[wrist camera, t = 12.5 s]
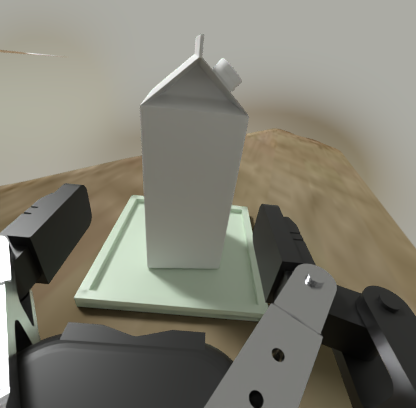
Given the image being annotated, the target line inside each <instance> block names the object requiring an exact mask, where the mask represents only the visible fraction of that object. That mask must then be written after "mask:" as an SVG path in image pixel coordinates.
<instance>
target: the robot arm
mask: <svg viewBox="0 0 416 408" xmlns="http://www.w3.org/2000/svg"><path fill="white" fill-rule="evenodd" d="M91 218H92V214H91V208H90V203H89V198H88V193H87V189H86V187H85V186H84V185H77V184H67V183H66V184H64V185H62V186H61V187H60V188H59V189H58V190H57V191H56V192H55V193H51V194H49V195H47V196H45V197H43V198H40V199H39V200H38V201H37V202H35V203H34V204H33V205H32V206H31V208H28V209H27V210H26V211H25V212H24V214H21V215H20V216H19V217H18V218H17V219H16V220H14V221H13V222H12V223H11V224H10V225H9V226H7V227H6V228H5V229H4V230H3V231H2V232H0V408H298V407H299V404H300V401H301V399H302V396H303V393H304V390H305V387H306V385H307V382H308V379H309V376H310V373H311V371H312V368H313V365H314V362H315V359H316V356H317V354H318V351H319V348H320V345H321V344H323V345H326V346H328V347H331V348H332V350H333V352H334V355H335V358H336V361H337V364H338V367H339V370H340V373H341V376H342V378H343V381H344V384H345V387H346V390H347V393H348V396H349V399H350V401H351V404H352V407H353V408H416V316H415V315H414V313H413V312H412V310H411V309H410V308H409V306H408V305H407V304H406V303H405V302H404V301H403V300H402V299H401V298H400V297H399V296H397V295H396V294H394V293H393V292H391V291H389V290H387V289H385V288H382V287H379V286H368V287H366V288H365V289H364V291H363V292H362V293H358V292H355V291H352V290H349V289H346V288H344V287H341V286H338V285H336V282H335V280H334V279H333V277H332V276H331V275H330V274H329V273H328V272H327V271H325V270H324V269H322V268H320V267H318V266H316V265H315V263H314V261H313V259H312V257H311V254H310V252H309V250H308V248H307V246H306V244H305V242H304V241H303V238H302V236H301V235H300V232H299V229H298V227H297V225H296V224H295V223H294V222H293V221H292V220H291V219H290V218H289V217H283V215H282V213H281V210H280V208H279V206H277V205H267V204H261V206H260V208H259V212H258V215H257V219H256V223H255V226H254V230H253V246H254V250H255V255H256V260H257V265H258V269H259V274H260V279H261V284H262V289H263V293H264V298H265V303H271V304H270V306H269V307H268V309H267V310H266V312H265V313H264V315H263V316H262V318H261V320H260V321H259V323H258V324H257V326H256V327H255V329H254V331H253V332H252V334H251V335H250V337H249V338H248V340H247V341H246V343H245V345H244V346H243V348H242V349H241V351H240V352H239V354H238V355H237V357H236V359H235V360H234V362H233V361H232V360H231V359H230V358H229V357H228V356H227V355H226V354H224V353H223V352H222V351H220V350H219V349H217V348H215V347H213V346H211V345H209V344H206V343H205V333H204V332H191V331H177V330H170V331H165V332H159V333H154V334H149V335H143V336H131V335H129V334H126V333H123V332H121V331H118V330H115V329H113V328H110V327H107V326H105V325H98V324H85V323H72V322H68V324H67V326H66V328H65V330H64V332H63V334H59V335H55V336H52V337H49V338H46V339H44V340H40V336H39V332H38V326H37V319H36V313H35V306H34V299H33V293H32V291H31V288H32V286H33V285H34V284H35V283H42V284H49V283H50V281H51V280H52V279H53V277H54V276H55V274H56V273H57V271H58V270H59V269H60V267H61V266H62V264H63V263H64V261H65V260H66V259H67V257H68V256H69V254H70V253H71V252H72V250H73V249H74V247H75V246H76V244H77V243H78V242H79V240H80V239H81V237H82V236H83V234H84V233H85V232H86V230H87V229H88V227H89V226H90V223H91ZM381 358H382V359H381ZM382 360H383V361H382ZM383 362H384V363H383ZM384 364H385V365H384ZM385 366H386V367H385ZM386 368H387V369H386ZM387 370H388V371H387ZM388 372H389V373H388ZM389 374H390V375H389ZM390 376H391V377H390ZM391 378H392V379H391Z"/></svg>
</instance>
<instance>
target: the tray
mask: <svg viewBox="0 0 416 408" xmlns="http://www.w3.org/2000/svg"><path fill="white" fill-rule="evenodd" d="M74 299H75V302H76V305H77V306H78V307H90V308H102V309H114V310H126V311H138V312H150V313H162V314H174V315H186V316H198V317H210V318H221V319H233V320H245V321H257V322H259V321H260V320H261V318H262V316H263V315H264V313H265V312H266V310H267V309H268V304H267V303H265V298H264V293H263V289H262V284H261V279H260V274H259V269H258V265H257V260H256V255H255V250H254V246H253V233H252V228H251V223H250V218H249V214H248V209H247V207H243V206H233V205H232V206H231V211H230V216H229V221H228V226H227V231H226V236H225V241H224V246H223V251H222V256H221V261H220V266H219V269H192V268H148V267H147V252H146V230H145V208H144V196H137V195H132V196H131V198H130V199H129V201H128V203H127V205H126V207H125V208H124V210H123V212H122V214H121V215H120V217H119V219H118V221H117V222H116V224H115V226H114V228H113V230H112V231H111V233H110V235H109V237H108V238H107V240H106V242H105V244H104V245H103V247H102V249H101V251H100V252H99V254H98V256H97V258H96V260H95V261H94V263H93V265H92V267H91V268H90V270H89V272H88V274H87V275H86V277H85V279H84V281H83V282H82V284H81V286H80V288H79V290H78V291H77V293H76V295H75V297H74Z"/></svg>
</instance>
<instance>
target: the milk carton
mask: <svg viewBox="0 0 416 408" xmlns="http://www.w3.org/2000/svg"><path fill="white" fill-rule="evenodd" d="M203 41H204V34H199V35H198V36H197V37H196V41H195V54H194V55H193V56H192V57H190V58H189V59H188V60H187V61H185V62H184V63H183V64H182V65H181V66H180V67H178V68H177V69H176V70H175V71H173V72H172V73H171V74H170V75H169V76H167V77H166V78H165V79H164V80H163V81H161V82H160V83H159V84H158V85H157V86H155V87H154V88H153V89H152V90H151V91H150V93H149V94H148V96H147V97H146V98H145V99H144V101H143V102H142V103H141V105H140V118H141V141H142V163H143V186H144V208H145V230H146V252H147V267H148V268H192V269H219V266H220V261H221V256H222V251H223V246H224V241H225V236H226V231H227V226H228V221H229V216H230V211H231V206H232V201H233V196H234V191H235V186H236V181H237V176H238V171H239V166H240V161H241V156H242V151H243V146H244V141H245V136H246V131H247V125H248V119H249V116H248V114H247V113H246V111H245V110H244V109H243V107H242V106H241V105H240V104H239V103H238V101H237V100H236V99H235V98H234V96H233V95H232V94H231V93H230V92H231V91H234V90H235V88H236V87H237V86H238V85H239V84H240V83H241V82H242V81H241V78H240V77H239V75H238V74H237V72H236V71H235V70H234V68H233V67H232V66H231V65H230V64H229V62H227V60H226V59H224V58H222V59H221V60H220V61H219V62H218V63H217V65H215V66H214V67H213V70H212V69H211V68H210V66H209V65H208V64H207V62H206V61H205V60H204V59H203V57H202V53H203Z"/></svg>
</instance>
